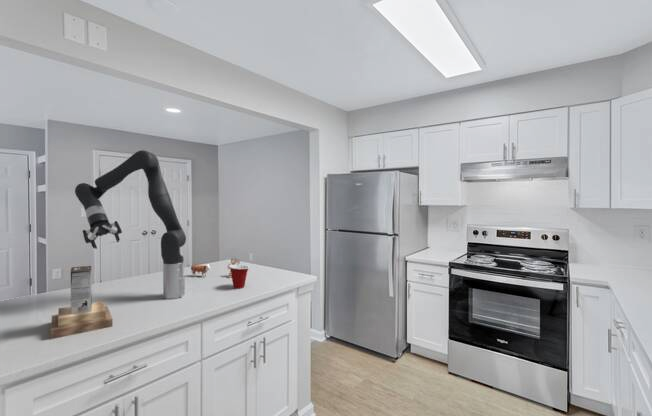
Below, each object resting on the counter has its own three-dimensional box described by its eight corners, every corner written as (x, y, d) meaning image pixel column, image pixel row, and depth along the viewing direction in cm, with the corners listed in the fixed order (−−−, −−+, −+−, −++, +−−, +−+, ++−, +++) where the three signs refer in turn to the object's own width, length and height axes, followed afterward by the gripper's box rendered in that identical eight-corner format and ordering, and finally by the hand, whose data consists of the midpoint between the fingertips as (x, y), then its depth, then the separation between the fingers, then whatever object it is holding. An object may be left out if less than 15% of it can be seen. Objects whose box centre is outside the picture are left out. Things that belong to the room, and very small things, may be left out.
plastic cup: (252, 288, 177) (252, 266, 177) (232, 291, 171) (233, 268, 170) (245, 283, 186) (245, 263, 186) (226, 286, 180) (226, 265, 179)
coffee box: (71, 307, 125) (71, 267, 125) (91, 304, 129) (91, 265, 129) (70, 314, 118) (69, 271, 118) (91, 311, 122) (91, 269, 121)
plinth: (107, 312, 136) (107, 299, 136) (112, 326, 123) (112, 311, 122) (52, 322, 125) (52, 307, 125) (50, 339, 111) (50, 322, 111)
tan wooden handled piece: (228, 278, 197) (228, 259, 197) (225, 277, 200) (225, 258, 200) (241, 275, 204) (241, 257, 204) (238, 274, 207) (238, 256, 206)
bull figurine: (208, 278, 197) (209, 265, 197) (189, 276, 200) (189, 263, 200) (212, 276, 201) (212, 263, 201) (193, 275, 204) (193, 262, 204)
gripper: (76, 217, 143) (86, 245, 137) (112, 208, 151) (123, 234, 145) (81, 226, 149) (90, 254, 143) (115, 217, 157) (126, 243, 150)
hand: (107, 244), depth 144 cm, fingers open, 8 cm apart
